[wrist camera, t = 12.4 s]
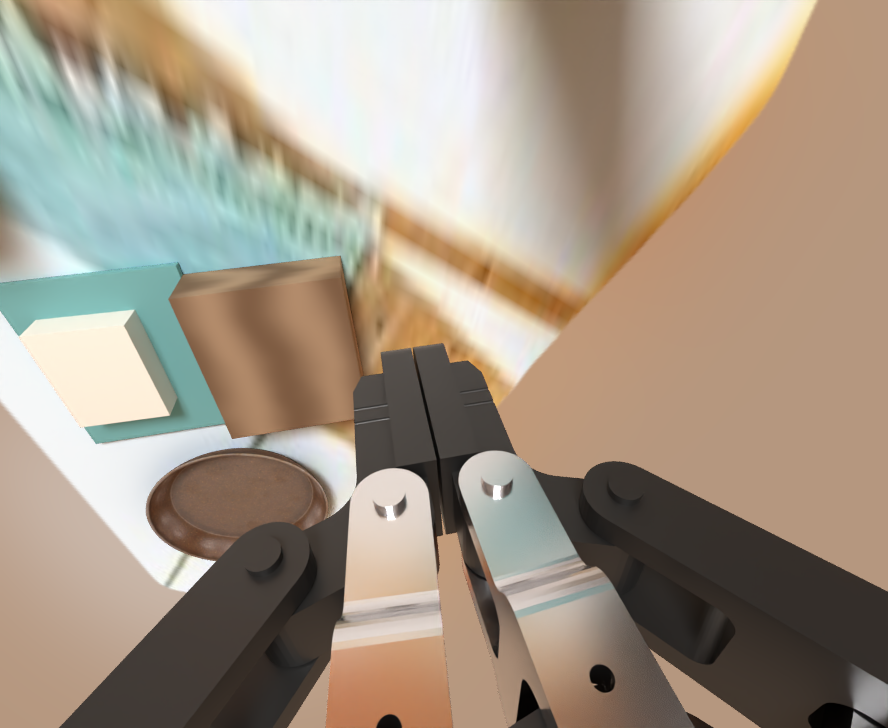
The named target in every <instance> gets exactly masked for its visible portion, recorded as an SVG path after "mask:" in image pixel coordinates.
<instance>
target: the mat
mask: <svg viewBox="0 0 888 728" xmlns="http://www.w3.org/2000/svg"><path fill="white" fill-rule="evenodd" d="M182 275H183V273H182V271H181V269H180V266H179V264H178V262H177V263H169V264H160V265H151V266H143V267H134V268H126V269H117V270H108V271H100V272H91V273H82V274H74V275H65V276H56V277H48V278H39V279H31V280H22V281H13V282H5V283H0V311H1V312H2V314H3V315H4V317H5V318H6V319H7V321H8V322H9V324H10V325H11V326H12V328H13V329H14V331H15V332H16V333H17V335H18V336H20V335H21V334H22V333H23V332H24V331H25V330H26V329H27V328H28V327H29V326H30V325H31V324H32V323H33V322H34V321H35V320H40V319H50V318H59V317H69V316H78V315H88V314H98V313H107V312H117V311H126V310H135V311H136V313H137V315H138V317H139V319H140V321H141V323H142V325H143V327H144V329H145V331H146V333H147V335H148V337H149V340H150V342H151V344H152V346H153V348H154V350H155V352H156V354H157V356H158V358H159V360H160V362H161V364H162V366H163V368H164V371H165V373H166V375H167V377H168V379H169V381H170V383H171V385H172V387H173V389H174V391H175V393H176V395H177V400H176V402H175V405H174V407H173V409H172V412H171V414H170V416H163V417H155V418H148V419H140V420H133V421H126V422H118V423H111V424H103V425H96V426H88V427H84V428H85V429H86V431H87V432H88V433H89V435H90V436H91V438H92V439H93V440H94V442H95V443H96V444H98V443H104V442H111V441H117V440H123V439H130V438H136V437H142V436H149V435H155V434H161V433H168V432H174V431H180V430H187V429H193V428H200V427H206V426H212V425H219V424H225V422H224V420H223V417H222V415H221V413H220V411H219V409H218V407H217V404H216V402H215V400H214V398H213V396H212V394H211V391H210V389H209V387H208V385H207V383H206V381H205V378H204V376H203V374H202V372H201V370H200V367H199V365H198V363H197V361H196V359H195V357H194V354H193V352H192V350H191V348H190V346H189V344H188V341H187V339H186V337H185V335H184V333H183V330H182V328H181V326H180V324H179V322H178V320H177V317H176V315H175V313H174V311H173V309H172V307H171V304H170V302H169V300H168V299H169V297H170V295H171V294H172V292H173V290H174V289H175V287H176V285H177V284H178V282H179V280H180V279H181V277H182Z"/></svg>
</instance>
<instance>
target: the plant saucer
mask: <svg viewBox="0 0 888 728" xmlns="http://www.w3.org/2000/svg"><path fill="white" fill-rule="evenodd" d="M327 513H328V500H327V497H326V494H325V492H324V490H323V488H322V486H321V485H320V483H319V482H318V481H317V480H316V479H315V478H314V476H313V475H311V474H310V473H309V472H308V471H307V470H306V469H305V468H303V467H302V466H301V465H299V464H298V463H296V462H294V461H293V460H291V459H289V458H287V457H284V456H282V455H279V454H277V453H273V452H270V451H265V450H260V449H251V448H234V449H225V450H220V451H215V452H211V453H207V454H204V455H201V456H198V457H195V458H193V459H191V460H189V461H187V462H185V463H183V464H181V465H179V466H178V467H176V468H174V469H173V470H171V471H170V472H169V473H167V474H166V475H165V476H164V477H162V478H161V479H160V480H159V481H158V482H157V483H156V485H155V486H154V487H153V489H152V490H151V492H150V494H149V496H148V499H147V503H146V515H147V519H148V522H149V524H150V526H151V528H152V529H153V531H154V532H155V533H156V534H157V536H158V537H159V538H161V539H162V540H163V541H164V542H165V543H167V544H168V545H169V546H171V547H173V548H174V549H176V550H178V551H181V552H183V553H185V554H188V555H191V556H194V557H198V558H201V559H206V560H212V561H217V560H218V559H219V558H220V557H221V556H222V555H223V554H224V553H225V552H226V551H227V550H228V549H229V547H230V546H231V545H232V544H233V543H234V542H235V541H236V540H237V539H238V538H240V537H241V536H242V535H243V534H245V533H246V532H248V531H249V530H251V529H253V528H255V527H257V526H260V525H263V524H266V523H271V522H286V523H290V524H293V525H295V526H297V527H299V528H300V529H301V530H302V531H303V530H305V529H307V528H309V527H311V526H313V525H315V524H317V523H319V522H321V521H323V520H325V519H326V517H327Z"/></svg>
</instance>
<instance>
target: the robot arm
mask: <svg viewBox="0 0 888 728" xmlns="http://www.w3.org/2000/svg"><path fill="white" fill-rule="evenodd" d="M413 357H414V359H413ZM381 359H382V366H383V373H382V374H376V375H369V376H362V377H361V378H360V380H359V382H358V384H357V386H356V388H355V389H354V391H353V403H354V423H355V447H356V468H357V483H356V487H355V490H354V492H353V494H352V496H351V498H350V499H349V501H348V502H347V503H346V504H345V506H344V507H342V508H341V509H340V510H339V511H338V512H337V513H335V514H334V515H332V516H331V517H329V518H327V519H325V520H323V521H321V522H319V523H317V524H315V525H313V526H311V527H309V528H307V529H305V530H303V531H302V530H301V529H300V528H299V527H297V526H295V525H293V524H290V523H286V522H271V523H266V524H263V525H260V526H257V527H255V528H253V529H251V530H249V531H248V532H246V533H245V534H243V535H242V536H241V537H240V538H238V539H237V540H236V541H235V542H234V543H233V544H232V545H231V546H230V547H229V549H228V550H227V551H226V552H225V553H224V554H223V555H222V556H221V557H220V558H219V559H218V560H217V561H216V562H215V563H214V564H213V565H212V567H211V568H210V569H209V570H208V571H207V572H206V573H205V574H204V575H203V576H202V577H201V578H200V579H199V580H198V581H197V582H196V583H195V585H194V586H193V587H192V588H191V589H190V590H189V591H188V592H187V593H186V594H185V595H184V596H183V597H182V598H181V599H180V600H179V601H178V603H177V604H176V605H175V606H174V607H173V608H172V609H171V610H170V611H169V612H168V613H167V614H166V615H165V616H164V618H162V620H161V621H160V622H159V623H158V624H157V625H156V626H155V627H154V628H153V629H152V630H151V631H150V632H149V633H148V634H147V635H146V636H145V638H144V639H143V640H142V641H141V642H140V643H139V644H138V645H137V646H136V647H135V648H134V649H133V650H132V651H131V652H130V653H129V654H128V655H127V656H126V658H125V659H124V660H123V661H122V662H121V663H120V664H119V665H118V666H117V667H116V668H115V669H114V670H113V671H112V672H111V673H110V675H109V676H108V677H107V678H106V679H105V680H104V681H103V682H102V683H101V684H100V685H99V686H98V687H97V688H96V689H95V690H94V691H93V692H92V694H91V695H90V696H89V697H88V698H87V699H86V700H85V701H84V702H83V703H82V704H81V705H80V706H79V707H78V709H76V710H75V712H74V713H73V714H72V715H71V716H70V717H69V718H68V719H67V720H66V721H65V722H64V723H63V724H62V725H61V726H60V727H59V728H287V727H288V726H289V724H290V723H291V721H292V720H293V718H294V716H295V715H296V713H297V712H298V710H299V708H300V707H301V705H302V704H303V702H304V700H305V699H306V697H307V696H308V694H309V692H310V691H311V689H312V688H313V686H314V685H315V683H316V682H317V680H318V678H319V677H320V675H321V674H322V672H323V671H324V669H325V667H326V666H327V664H328V662H329V661H330V659H331V661H330V674H329V687H328V700H327V714H326V726H325V728H453V720H452V711H451V701H450V692H449V682H448V673H447V663H446V653H445V643H444V634H443V624H442V614H441V605H440V596H439V586H438V572H439V565H440V564H439V554H438V544H437V536H441V535H443V531H442V519H441V514H442V518H443V523H444V527H445V532H446V534H450V533H456V532H457V534H458V538H459V542H460V547H461V551H462V567H463V571H464V574H465V577H466V581H467V584H468V587H469V590H470V593H471V597H472V600H473V603H474V606H475V609H476V612H477V616H478V619H479V622H480V625H481V628H482V631H483V635H484V638H485V641H486V644H487V647H488V650H489V654H490V657H491V660H492V663H493V667H494V671H495V677H496V682H497V687H498V693H499V697H500V701H501V705H502V709H503V712H504V716H505V719H506V723H507V726H508V728H713V727H711V726H710V725H708V724H707V723H705V722H703V721H702V720H700V719H699V718H697V717H695V716H693V715H691V714H689V713H687V712H685V710H684V708H683V707H682V705H681V703H680V701H679V700H678V698H677V696H676V695H675V693H674V691H673V689H672V687H671V686H670V684H669V682H668V680H667V679H666V677H665V675H664V673H663V672H662V670H661V668H660V666H659V665H658V663H657V661H656V659H655V658H654V656H653V654H652V653H651V651H650V649H651V650H653V651H654V652H655V653H657V654H658V655H659V656H661V657H662V658H664V659H665V660H666V661H668V662H669V663H671V664H672V665H674V666H675V667H676V668H678V669H679V670H681V671H682V672H683V673H685V674H686V675H688V676H689V677H690V678H692V679H693V680H695V681H696V682H697V683H699V684H700V685H702V686H703V687H704V688H706V689H707V690H709V691H710V692H711V693H713V694H714V695H716V696H717V697H719V698H720V699H721V700H723V701H724V702H726V703H727V704H728V705H730V706H731V707H733V708H734V709H735V710H737V711H738V712H740V713H741V714H743V715H744V716H745V717H747V718H748V719H749V720H751V721H752V722H754V723H755V724H757V725H758V726H759V727H761V728H888V592H887V591H885V590H883V589H881V588H879V587H877V586H875V585H873V584H871V583H869V582H867V581H865V580H864V579H861V578H859V577H858V576H855V575H854V574H852V573H850V572H847V571H845V570H844V569H842V568H840V567H837V566H836V565H834V564H831V563H830V562H827V561H825V560H823V559H822V558H820V557H818V556H816V555H814V554H811V553H810V552H808V551H806V550H804V549H802V548H800V547H798V546H796V545H794V544H792V543H790V542H788V541H786V540H784V539H782V538H779V537H778V536H776V535H774V534H772V533H770V532H768V531H766V530H764V529H762V528H760V527H758V526H756V525H754V524H752V523H750V522H748V521H746V520H744V519H742V518H740V517H738V516H736V515H734V514H732V513H730V512H728V511H726V510H724V509H722V508H720V507H718V506H716V505H714V504H712V503H709V502H708V501H706V500H704V499H702V498H700V497H698V496H696V495H694V494H692V493H690V492H688V491H686V490H684V489H682V488H679V487H678V486H676V485H674V484H672V483H670V482H668V481H666V480H664V479H662V478H660V477H658V476H656V475H654V474H652V473H650V472H648V471H646V470H644V469H642V468H640V467H637V466H635V465H632V464H629V463H625V462H616V461H612V462H605V463H601V464H598V465H596V466H594V467H593V468H591V469H590V470H589V471H588V472H587V474H586V476H585V478H584V479H580V478H570V477H560V476H552V475H547V474H544V473H541V472H538V471H536V470H534V469H532V468H531V467H530V466H529V465H528V464H527V463H526V462H525V461H524V460H523V459H521V458H520V457H518V456H517V455H516V453H515V451H514V449H513V447H512V444H511V442H510V440H509V437H508V435H507V432H506V430H505V428H504V425H503V423H502V420H501V418H500V415H499V413H498V411H497V408H496V406H495V403H493V399H492V396H491V394H490V391H489V390H488V387H487V384H486V382H485V379H484V377H483V374H482V372H481V371H479V370H478V369H477V368H476V367H475V366H474V365H472V364H471V363H470V362H469V361H461V362H454V363H450V362H449V359H448V356H447V353H446V350H445V347H444V344H443V343H441V344H434V345H427V346H420V347H413V355H412V351H411V348H407V349H400V350H393V351H386V352H381ZM649 648H650V649H649Z"/></svg>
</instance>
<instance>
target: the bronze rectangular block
mask: <svg viewBox="0 0 888 728" xmlns="http://www.w3.org/2000/svg"><path fill="white" fill-rule="evenodd" d="M168 300H169V302H170V304H171V307H172V309H173V311H174V313H175V315H176V317H177V320H178V322H179V324H180V326H181V328H182V330H183V333H184V335H185V337H186V339H187V341H188V344H189V346H190V348H191V350H192V352H193V354H194V357H195V359H196V361H197V363H198V365H199V367H200V370H201V372H202V374H203V376H204V378H205V381H206V383H207V385H208V387H209V389H210V391H211V394H212V396H213V398H214V400H215V402H216V404H217V407H218V409H219V411H220V413H221V415H222V417H223V420H224V422H225V424H226V426H227V428H228V431H229V433H230V435H231V437H232V439H235V438H241V437H247V436H253V435H260V434H266V433H272V432H278V431H284V430H291V429H297V428H303V427H309V426H315V425H322V424H328V423H334V422H340V421H346V420H353V419H354V403H353V391H354V389H355V388H356V386H357V384H358V382H359V380H360V378H361V377H362V376H363V371H362V366H361V360H360V355H359V350H358V345H357V340H356V335H355V329H354V324H353V319H352V314H351V309H350V304H349V298H348V293H347V288H346V283H345V278H344V273H343V267H342V262H341V257H340V256H334V257H326V258H318V259H309V260H301V261H292V262H284V263H276V264H267V265H259V266H250V267H242V268H233V269H225V270H217V271H208V272H200V273H191V274H183V275H182V277H181V279H180V280H179V282H178V284H177V285H176V287H175V289H174V290H173V292H172V294H171V295H170V297H169V299H168Z"/></svg>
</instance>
